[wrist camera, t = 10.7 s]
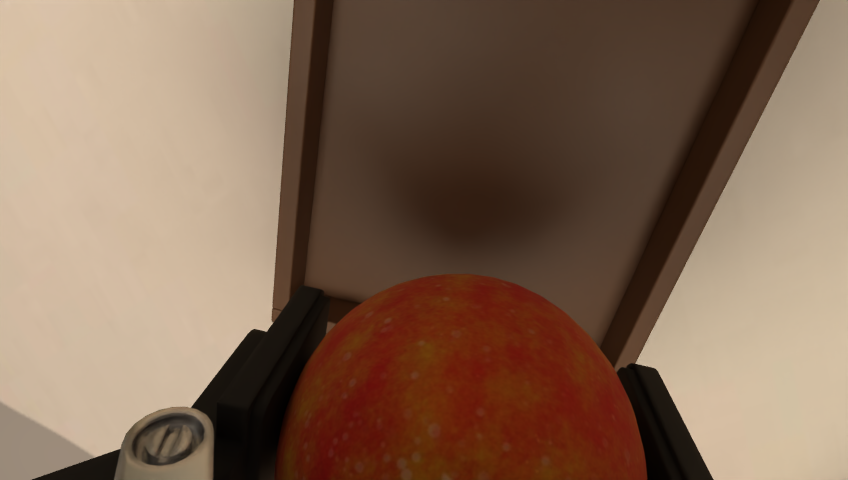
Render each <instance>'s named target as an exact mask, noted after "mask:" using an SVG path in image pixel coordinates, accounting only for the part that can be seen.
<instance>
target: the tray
mask: <svg viewBox="0 0 848 480" xmlns="http://www.w3.org/2000/svg"><path fill="white" fill-rule="evenodd" d="M819 1H820V0H294V8H293V22H292V37H291V51H290V65H289V79H288V93H287V107H286V122H285V136H284V150H283V164H282V178H281V193H280V207H279V221H278V235H277V249H276V263H275V278H274V292H273V309H272V322H274V321H275V320H276V318H277V317H278V316H279V314H280V313H281V311H282V310H283V309H284V307H285V306H286V304H287V303H288V302H289V300H290V299H291V297H292V296H293V295H294V293H295V292H296V290H297V289H298V288H299V286H300V285H304V286H309V287H313V288H317V289H321V290H323V291H324V296H325V297H330V308H329V315H328V323H327V330H326V335H327V333H328V332H329V331H330V330H331V329H332V328H333V327H334V326H335V325H336V324H337V323H338V322H339V321H340V320H341V319H342V318H344V317H345V316H346V315H347V314H348V313H349V312H350V311H351V310H353V309H354V308H355V307H356V306H358V305H360V304H361V303H363V302H364V301H366V300H367V299H369V298H370V297H372V296H374V295H375V294H377V293H379V292H381V291H383V290H386V289H388V288H390V287H392V286H395V285H397V284H399V283H403V282H406V281H410V280H414V279H418V278H421V277H426V276H434V275H442V274H475V275H482V276H489V277H495V278H498V279H501V280H505V281H508V282H512V283H515V284H518V285H520V286H522V287H524V288H526V289H528V290H530V291H532V292H534V293H536V294H538V295H540V296H542V297H544V298H545V299H547V300H548V301H550V302H551V303H553V304H554V305H555V306H557V307H558V308H560V309H561V310H563V311H564V312H565V313H567V314H568V315H569V316H570V317H571V318H572V319H573V320H574V321H575V322H576V323H577V324H578V325H579V326H580V327H581V328H583V329H584V330H585V331H586V332H587V333H588V334H589V335H590V337H591V338H592V339H593V341H594V342H595V343H596V344H597V346H598V347H599V348H600V350H601V351H602V352H603V354H604V355H605V356H606V358H607V359H608V360H609V362H610V363H611V365H612V366H613V368H614V370H615V371H616V373H617V371H618V370H619V368H621V367H625V368H626V366H627V365H628V364H630V363H634V364H635V363H636V361H637V359H638V357H639V355H640V353H641V351H642V349H643V347H644V345H645V343H646V341H647V339H648V337H649V335H650V333H651V331H652V329H653V327H654V325H655V323H656V321H657V319H658V317H659V315H660V313H661V312H662V310H663V308H664V306H665V304H666V302H667V300H668V298H669V296H670V294H671V292H672V290H673V288H674V286H675V284H676V282H677V280H678V278H679V276H680V274H681V272H682V270H683V268H684V266H685V264H686V262H687V260H688V258H689V256H690V255H691V253H692V251H693V249H694V247H695V245H696V243H697V241H698V239H699V237H700V235H701V233H702V231H703V229H704V227H705V225H706V223H707V221H708V219H709V217H710V215H711V213H712V211H713V209H714V207H715V205H716V203H717V201H718V199H719V197H720V196H721V194H722V192H723V190H724V188H725V186H726V184H727V182H728V180H729V178H730V176H731V174H732V172H733V170H734V168H735V166H736V164H737V162H738V160H739V158H740V156H741V154H742V152H743V150H744V148H745V146H746V144H747V142H748V140H749V139H750V137H751V135H752V133H753V131H754V129H755V127H756V125H757V123H758V121H759V119H760V117H761V115H762V113H763V111H764V109H765V107H766V105H767V103H768V101H769V99H770V97H771V95H772V93H773V91H774V89H775V87H776V85H777V83H778V82H779V80H780V78H781V76H782V74H783V72H784V70H785V68H786V66H787V64H788V62H789V60H790V58H791V56H792V54H793V52H794V50H795V48H796V46H797V44H798V42H799V40H800V38H801V36H802V34H803V32H804V30H805V28H806V26H807V24H808V23H809V21H810V19H811V17H812V15H813V13H814V11H815V9H816V7H817V5H818V3H819Z"/></svg>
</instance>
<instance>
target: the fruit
mask: <svg viewBox="0 0 848 480" xmlns="http://www.w3.org/2000/svg"><path fill="white" fill-rule="evenodd" d="M274 480H647V470H646V460H645V454H644V449H643V445H642V441H641V437H640V433H639V429H638V425H637V421H636V417H635V413H634V411H633V408H632V405H631V402H630V400H629V398H628V396H627V394H626V392H625V390H624V388H623V385H622V383H621V381H620V379H619V377H618V375H617V373H616V371H615V370H614V368H613V366H612V365H611V363H610V362H609V360H608V359H607V358H606V356H605V355H604V354H603V352H602V351H601V350H600V348H599V347H598V346H597V344H596V343H595V342H594V341H593V339H592V338H591V337H590V335H589V334H588V333H587V332H586V331H585V330H584V329H583V328H581V327H580V326H579V325H578V324H577V323H576V322H575V321H574V320H573V319H572V318H571V317H570V316H569V315H568V314H567V313H565V312H564V311H563V310H561V309H560V308H558V307H557V306H555V305H554V304H553V303H551V302H550V301H548V300H547V299H545V298H544V297H542V296H540V295H538V294H536V293H534V292H532V291H530V290H528V289H526V288H524V287H522V286H520V285H518V284H515V283H512V282H508V281H505V280H501V279H498V278H495V277H489V276H482V275H475V274H442V275H434V276H426V277H421V278H418V279H414V280H410V281H406V282H403V283H399V284H397V285H395V286H392V287H390V288H388V289H386V290H383V291H381V292H379V293H377V294H375V295H374V296H372V297H370V298H369V299H367V300H366V301H364V302H363V303H361V304H360V305H358V306H356V307H355V308H354V309H353V310H351V311H350V312H349V313H348V314H347V315H346V316H345V317H344V318H342V319H341V320H340V321H339V322H338V323H337V324H336V325H335V326H334V327H333V328H332V329H331V330H330V331H329V332H328V333H327V335H326V336H325V337H324V338H323V340H322V341H321V343H320V344H319V345H318V347H317V348H316V350H315V351H314V352H313V354H312V355H311V357H310V358H309V360H308V361H307V363H306V364H305V366H304V368H303V370H302V372H301V374H300V376H299V378H298V381H297V383H296V385H295V387H294V390H293V392H292V394H291V397H290V399H289V402H288V405H287V407H286V411H285V414H284V418H283V422H282V427H281V431H280V436H279V442H278V447H277V452H276V460H275V473H274Z"/></svg>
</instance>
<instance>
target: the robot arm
mask: <svg viewBox="0 0 848 480" xmlns="http://www.w3.org/2000/svg"><path fill="white" fill-rule="evenodd" d="M329 308H330V297H325V296H324V291H323V290H321V289H317V288H313V287H309V286H304V285H300V286H299V288H298V289H297V290H296V292H295V293H294V295H293V296H292V297H291V299H290V300H289V302H288V303H287V304H286V306H285V307H284V309H283V310H282V311H281V313H280V314H279V316H278V317H277V318H276V320H275V321H274V323H273V324H272V325H271V327H270V328H269V330H268V331H267V332H265V331H261V330H256V329H254V330H251V331H250V332H249V333H248V334H247V336H246V337H245V338H244V340H243V341H242V342H241V343H240V345H239V346H238V347H237V349H236V350H235V351H234V353H233V354H232V355H231V356H230V358H229V359H228V360H227V362H226V363H225V364H224V365H223V367H222V368H221V369H220V371H219V372H218V373H217V375H216V376H215V377H214V378H213V380H212V381H211V382H210V384H209V385H208V386H207V388H206V389H205V390H204V391H203V393H202V394H201V395H200V397H199V398H198V399H197V400H196V402H195V403H194V404H193V406H192V407H191V408H189V407H171V408H166V409H161V410H158V411H156V412H154V413H151V414H149V415H147V416H145V417H144V418H142V419H141V420H139V421H138V422H137V423H135V424H134V425H133V426H132V428H131V429H130V430H129V431H128V432H127V433H126V435H125V438H124V440H123V442H122V445H121V449H119V450H116V451H113V452H110V453H107V454H104V455H101V456H98V457H96V458H93V459H90V460H87V461H84V462H81V463H79V464H76V465H73V466H70V467H67V468H64V469H61V470H58V471H55V472H53V473H50V474H47V475H44V476H41V477H38V478H35V479H32V480H274V473H275V460H276V452H277V447H278V442H279V436H280V431H281V427H282V422H283V418H284V414H285V411H286V407H287V405H288V402H289V399H290V397H291V394H292V392H293V390H294V387H295V385H296V383H297V381H298V378H299V376H300V374H301V372H302V370H303V368H304V366H305V364H306V363H307V361H308V360H309V358H310V357H311V355H312V354H313V352H314V351H315V350H316V348H317V347H318V345H319V344H320V343H321V341H322V340H323V338H324V337H325V336H326V330H327V323H328V315H329ZM617 375H618V377H619V379H620V381H621V383H622V385H623V388H624V390H625V392H626V394H627V396H628V398H629V400H630V402H631V405H632V408H633V411H634V413H635V417H636V421H637V425H638V429H639V433H640V437H641V441H642V445H643V449H644V454H645V460H646V470H647V480H713V478H712V476H711V474H710V472H709V470H708V468H707V466H706V464H705V463H704V461H703V459H702V457H701V455H700V453H699V451H698V449H697V447H696V445H695V443H694V441H693V439H692V437H691V435H690V433H689V431H688V429H687V427H686V425H685V423H684V421H683V420H682V418H681V416H680V414H679V412H678V410H677V408H676V406H675V404H674V402H673V400H672V398H671V396H670V394H669V392H668V390H667V388H666V386H665V384H664V382H663V380H662V379H661V377H660V375H659V373H658V371H657V370H656V369H654V368H651V367H646V366H642V365H638V364H634V363H630V364H628V365H627V366H626V368H625V367H621V368H619V370H618V371H617Z"/></svg>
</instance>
